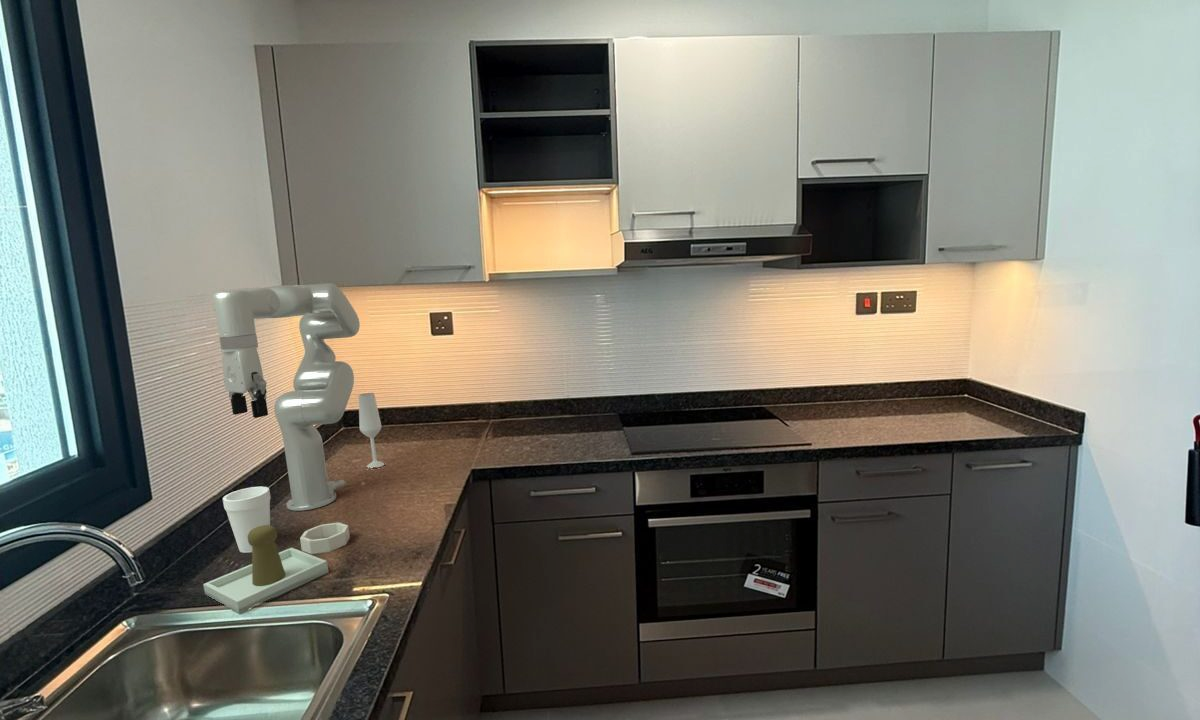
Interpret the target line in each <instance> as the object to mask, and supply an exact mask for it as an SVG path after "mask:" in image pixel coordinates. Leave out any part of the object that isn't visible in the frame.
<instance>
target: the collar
mask: <svg viewBox="0 0 1200 720" xmlns="http://www.w3.org/2000/svg"><path fill="white" fill-rule="evenodd" d="M350 538H351V536H350V529H349V525H348V524H345V523H342V522H332V523H324V524H320V525H317V526H314V527H312V528H310V529H307V530H305V531H304V532H303V533H302V535H301V536H300V538H299V540H300V548H301V551H302V552H304V553H307V554H310V555H314V554H321V553H322V554H323V553H329V552H333V551H334V550H337V549H339V548H342V547H343V546H346V545H347V543H348V542H349V540H350Z"/></svg>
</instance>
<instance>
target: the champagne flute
mask: <svg viewBox="0 0 1200 720" xmlns="http://www.w3.org/2000/svg"><path fill="white" fill-rule="evenodd" d="M375 396H376V395H375V393H374V392H367V393H361V394H359V395H358V417H359V418H358V419H359V420H358V421H359V422H358V424H359V431H360V432H361V433H362V434H363V435H364V436H366V437H367V438H369V439H370V449H371V454H372V455H371V456H372V461H371V462H370V463H368V464H367V465H366V466H367V467H368V468H369V467H370V468H373V467H380V466H382V465H384V463H385V462H382V461H380V460H378V458H377V452H376V451H377V450H376V445H375V437H376V436H377V435H378V434H379V432H380V431H381V429H382V423H381V422H382V421H381V418H380V413H379V409H378V405H377V401H376V397H375Z"/></svg>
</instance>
